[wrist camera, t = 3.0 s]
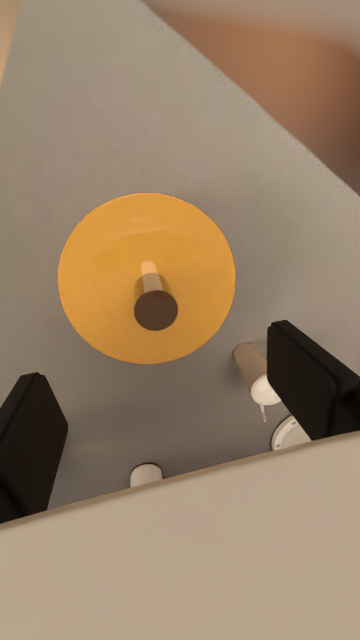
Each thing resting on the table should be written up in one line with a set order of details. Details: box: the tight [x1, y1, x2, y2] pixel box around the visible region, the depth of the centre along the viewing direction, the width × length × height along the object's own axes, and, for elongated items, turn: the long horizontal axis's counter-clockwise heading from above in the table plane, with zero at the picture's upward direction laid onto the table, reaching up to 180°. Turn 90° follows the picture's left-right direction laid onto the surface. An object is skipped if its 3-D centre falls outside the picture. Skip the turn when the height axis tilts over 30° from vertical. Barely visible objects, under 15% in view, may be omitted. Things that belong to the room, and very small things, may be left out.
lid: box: [58, 193, 236, 364], centre depth 20 cm, size 15×15×6 cm
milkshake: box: [233, 343, 281, 422], centre depth 32 cm, size 4×5×10 cm
